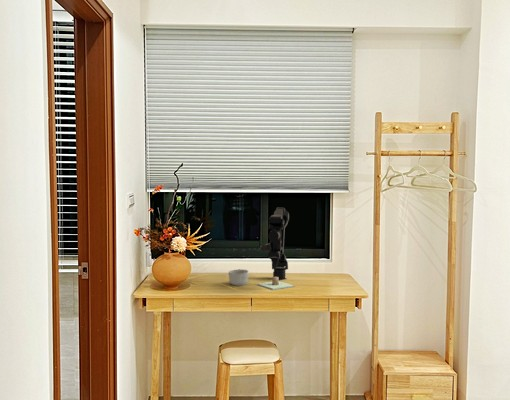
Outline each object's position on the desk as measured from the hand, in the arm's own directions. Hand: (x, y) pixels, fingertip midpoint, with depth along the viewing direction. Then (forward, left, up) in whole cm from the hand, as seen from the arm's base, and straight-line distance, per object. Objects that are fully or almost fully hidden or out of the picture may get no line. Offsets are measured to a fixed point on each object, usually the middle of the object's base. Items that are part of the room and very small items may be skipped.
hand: (275, 267), depth 317 cm
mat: (0, 0, -11) cm, 11 cm away
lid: (0, 0, -10) cm, 10 cm away
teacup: (+14, -15, -11) cm, 23 cm away
